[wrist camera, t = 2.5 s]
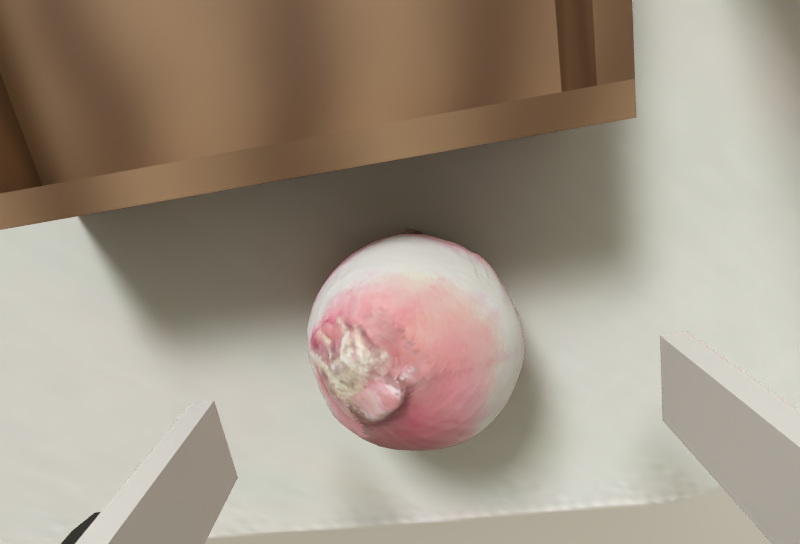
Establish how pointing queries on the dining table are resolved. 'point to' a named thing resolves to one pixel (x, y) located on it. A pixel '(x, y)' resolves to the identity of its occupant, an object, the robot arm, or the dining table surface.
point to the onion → (415, 343)
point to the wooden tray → (282, 89)
